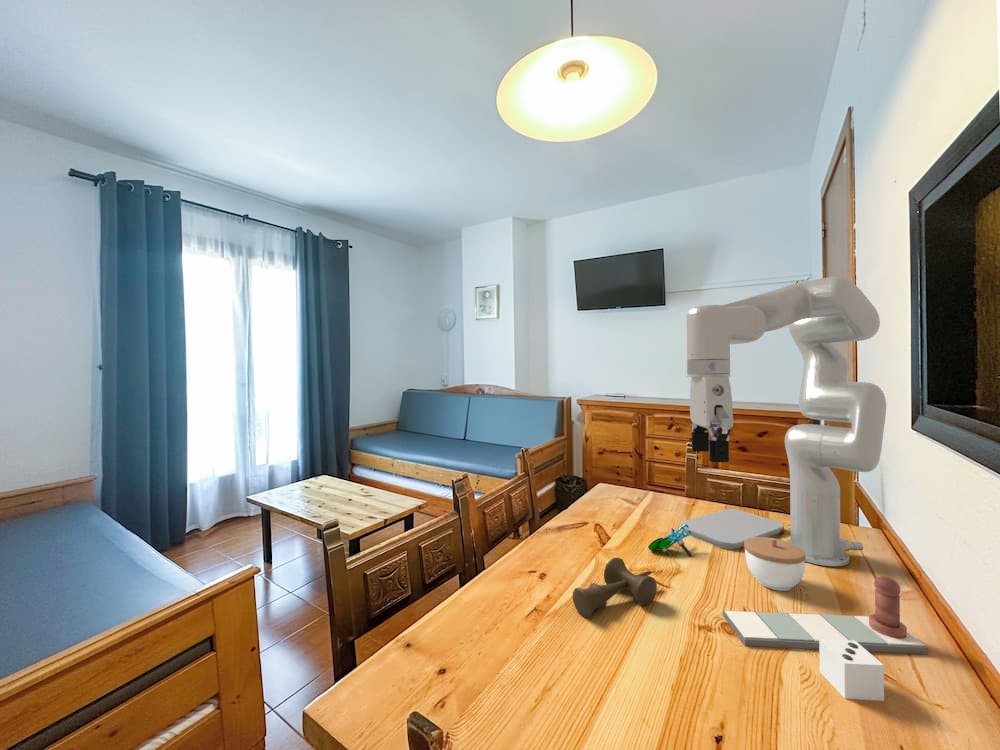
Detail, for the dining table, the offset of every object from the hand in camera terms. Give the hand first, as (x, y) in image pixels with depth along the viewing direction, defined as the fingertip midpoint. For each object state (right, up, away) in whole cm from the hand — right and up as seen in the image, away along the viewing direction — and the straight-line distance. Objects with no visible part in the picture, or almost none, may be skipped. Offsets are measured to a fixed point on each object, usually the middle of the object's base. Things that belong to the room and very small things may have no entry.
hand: (709, 456), depth 79 cm
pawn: (+24, -27, -11) cm, 38 cm away
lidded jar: (+17, -28, +6) cm, 34 cm away
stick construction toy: (+2, -29, +21) cm, 36 cm away
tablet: (+24, -28, +34) cm, 50 cm away
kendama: (-18, -29, +1) cm, 34 cm away
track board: (+13, -28, -10) cm, 33 cm away
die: (+9, -29, -21) cm, 37 cm away
